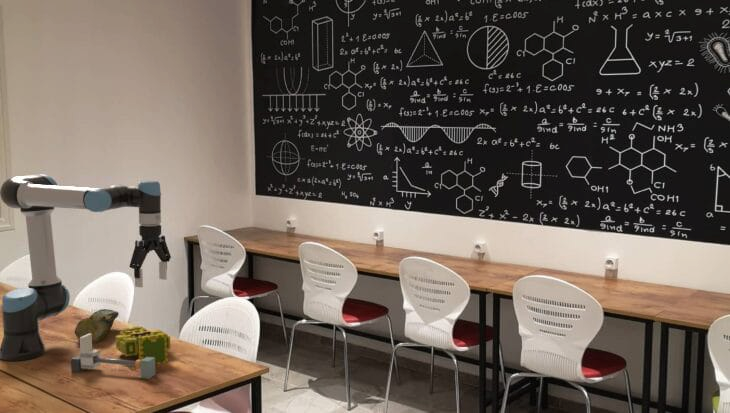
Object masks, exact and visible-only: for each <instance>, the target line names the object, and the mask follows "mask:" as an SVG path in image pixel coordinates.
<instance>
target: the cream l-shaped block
mask: <svg viewBox="0 0 730 413" xmlns="http://www.w3.org/2000/svg"><path fill="white" fill-rule="evenodd" d="M79 349H80V351H79V353H80V358H81V368H83V369H85V370H93V369H94V368H96V367H98V366H101V362H93V357H99V358H101V350H100V349H97V348H96V349H95V348H94V349H93V343H92V334H90V333H89V334H87V335H85V336H82V337H80V338H79Z"/></svg>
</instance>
